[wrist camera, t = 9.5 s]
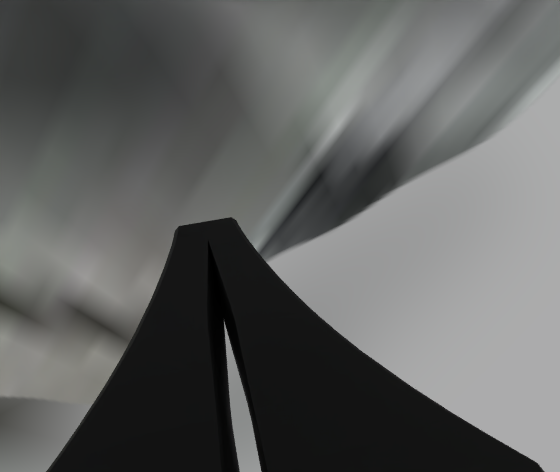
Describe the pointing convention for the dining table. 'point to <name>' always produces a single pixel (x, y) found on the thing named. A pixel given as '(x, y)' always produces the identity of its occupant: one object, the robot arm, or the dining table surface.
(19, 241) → the dining table surface
